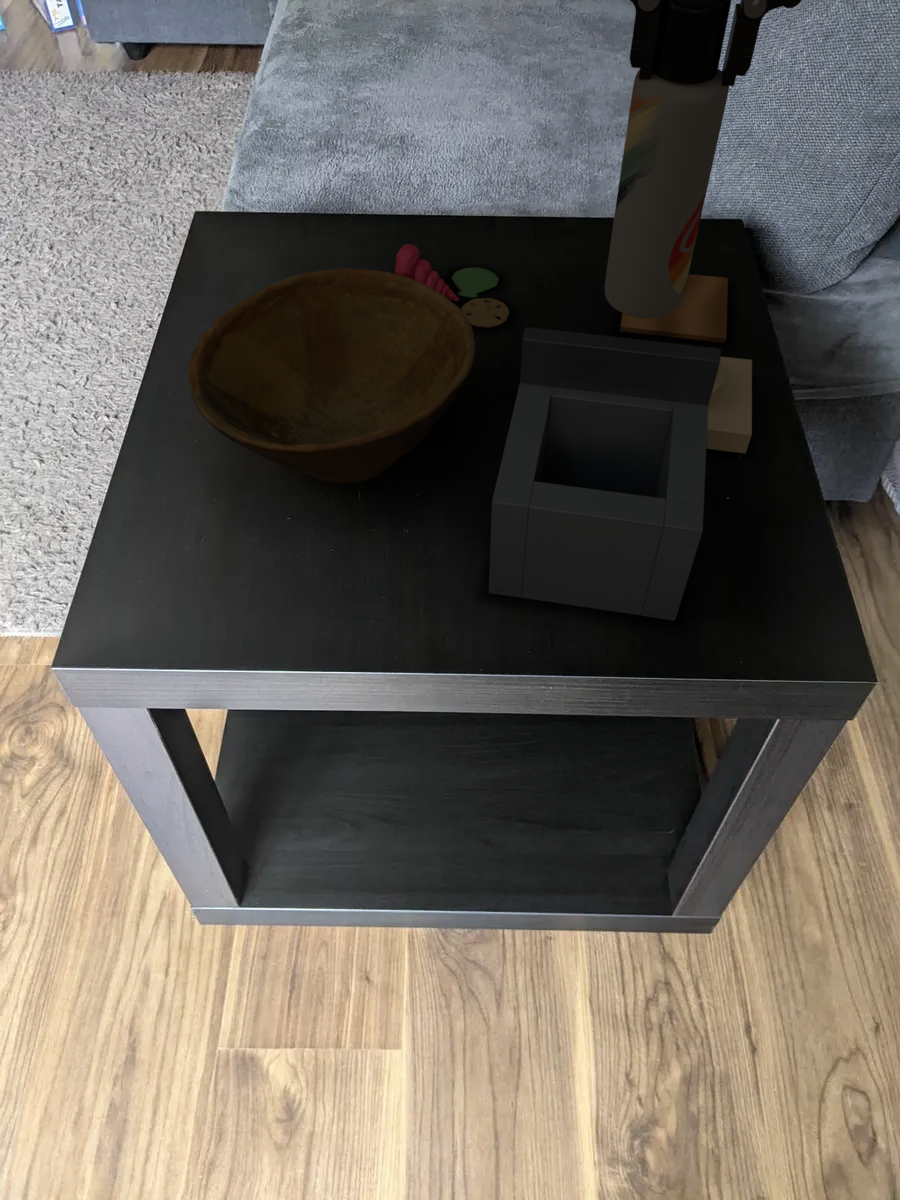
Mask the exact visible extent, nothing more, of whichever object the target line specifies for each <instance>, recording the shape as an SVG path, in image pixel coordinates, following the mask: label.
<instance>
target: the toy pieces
mask: <svg viewBox="0 0 900 1200" xmlns="http://www.w3.org/2000/svg"><path fill="white" fill-rule="evenodd" d="M395 258H396V263H395V264H396V265H395V269H394V274H398V275H401V276H404V277H407V278H410V279H412V280H414V281H417V282H419V283H422V284H425V285H426V286H428V287H430V288H432V289H434V290H435V291H437V292H438V293H440V294H442V295H444V296H445V297H447V298H448V299H449V300H450V301H451V302H453V301H454V302H456V303H457V302H460V297H463V298H468V299H471V300H469V301H468V302H466V303H464V304H463V305H462V307H461V310H462V312H463V313H464V314H465V316H466V317H467V319H468V320H469V322H470V324H471V326H473V327H476V328H485V329H489V328H490V329H491V328H496V327H498V326H501V325H502V324H504V323H505V322H506V321H507V320H508V317H509V315H510V309H509V307H508V306H507V305H506V303H504V302H502V301H500V300H498V299H494V298H490V297H484V298H483V297H482V298H481V297H479V294H481V293H485V292H487V291H489V290H492V289H494V288H496V287H497V286H498V283H499V280H500V278H499V277H498V276H497V275H496V273H495V272H493V271H490V270H489V269H486V268H483V267H472V266H471V267H463V268H462V269H459V270H456V271H455V272H454V273H453V275H452V276H451V277H450V278H451V281H452V282H453V284H454V285H455V286H456V287H457V289H458V290H460V291H458V292H456V293H457V294H456V293H455V292H454V291H453V290H452V289H451V288H450V286H449V284H446V282H445V280H444V279H443V278H440V275H439V273H438V271H437V270H432V268H433V267H432V265H431V262H430V261H428V260H426V259H424V258H421V250H420V249H419V248H418V246H417V245H414V244H410V243H406V244H403V245H402V246H401V248H400V249H399V250H398V252H397V253H396V255H395ZM458 296H459V297H458Z"/></svg>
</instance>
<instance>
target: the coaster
mask: <svg viewBox="0 0 900 1200" xmlns="http://www.w3.org/2000/svg"><path fill="white" fill-rule="evenodd" d="M728 295H729V277H723V276H713V275H702V274H693V273H688V277H687V281H686V286H685V290H684V294H683V297H682V300H681V302H680V304H679V306H678V307H677V308H676V309H675V310H674V311H672V312H671V313H669V314H667V315H664V316H661V317H655V318H639V317H633V316H629V315H626V314H624V313H622V312H621V313H622V314H621V319H620V320H621V321H620V327H619V332H622V333H631V334H638V335H639V334H640V335H648V336H649V335H650V336H659V337H665V338H676V339H685V340H695V341H704V342H711V343H722V344H725V343H726V341H727V335H728V334H727V333H728V330H727V329H728V299H729V298H728Z"/></svg>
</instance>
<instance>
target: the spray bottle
mask: <svg viewBox="0 0 900 1200" xmlns="http://www.w3.org/2000/svg"><path fill="white" fill-rule="evenodd" d="M731 5H732V0H662V4H661V15H660V21H659V27H658V34H657V40H656V46H655V53H654V59H653V65H652V71H651V78H650V79H639V71H640V69H638V71H637V73H635V77H634V79H633V86H632V91H631V98H630V99H631V100H630V104H629V112H628V119H627V124H626V125H627V127H626V132H625V138H624V139H625V140H624V147H623V153H622V160H621V166H620V167H621V169H620V175H619V182H618V189H617V196H616V202H615V210H614V215H613V223H612V229H611V237H610V244H609V252H608V259H607V266H606V272H605V282H604V296H605V298H606V301H607V302H608V304H609V305H610V306H611V307H612V308H613V309H615V310H616V311H618V312H619V313H624V314H626V315H629V316H633V317H639V318H655V317H661V316H664V315H667V314H669V313H671V312H672V311H674V310H675V309H676V308H677V307H678V306H679V304H680V302H681V300H682V297H683V294H684V290H685V286H686V281H687V277H688V274H690V273H689V272H690V268H691V263H692V260H693V254H694V250H695V246H696V241H697V237H698V232H699V226H700V222H701V220H702V214H703V211H704V210H703V209H704V204H705V200H706V195H707V191H708V187H709V182H710V177H711V173H712V169H713V164H714V161H715V155H716V151H717V145H718V143H719V137H720V132H721V128H722V123H723V119H724V115H725V111H726V110H725V109H726V106H727V101H728V95H729V91H730V86H724V85H722V69H719V66H720V61H721V57H722V56H721V55H722V51H723V46H724V40H725V37H726V31H727V25H728V20H729V14H730V10H731Z"/></svg>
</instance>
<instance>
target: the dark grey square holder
mask: <svg viewBox="0 0 900 1200" xmlns="http://www.w3.org/2000/svg"><path fill="white" fill-rule="evenodd" d="M521 343H522V344H521V345H522V346H521V356H520V357H521V358H520V359H521V360H520V374H519V384H518V390H517V394H516V399H515V402H514V407H513V411H512V415H511V420H510V423H509V428H508V432H507V435H506V441H505V444H504V450H503V453H502V457H501V462H500V466H499V470H498V475H497V479H496V483H495V488H494V492H493V495H492V499H491V519H490V542H489V543H490V547H489V569H488V571H489V573H488V575H489V576H488V594H493V595H499V596H507V597H513V598H519V599H520V598H522V599H528V600H535V601H541V602H548V603H553V604H554V603H555V604H561V605H568V606H574V607H581V608H589V609H594V610H599V611H600V610H602V611H608V612H614V613H621V614H628V615H635V616H641V617H648V618H653V619H661V620H667V621H673V622H674V621H676V620H677V617H678V613H679V610H680V606H681V603H682V599H683V596H684V593H685V590H686V587H687V584H688V581H689V577H690V574H691V571H692V567H693V565H694V560H695V557H696V555H697V551H698V548H699V545H700V541H701V538H702V534H703V531H704V515H705V514H704V513H705V511H704V510H705V491H706V489H705V488H706V468H707V467H706V466H707V465H706V464H707V449H706V448H707V425H708V404H709V401H710V398H711V394H712V390H713V387H714V383H715V379H716V376H717V372H718V368H719V364H720V356H721V351H722V350H721V348H719V347H718V348H717V347H710V346H709V347H708V346H699V345H691V344H681V343H672V342H662V341H654V340H646V339H635V338H628V337H619V336H609V335H603V334H602V335H601V334H593V333H583V332H575V331H574V332H573V331H565V330H558V329H557V330H556V329H548V328H537V327H528V326H526V327H525V328H524V331H523V336H522V342H521Z"/></svg>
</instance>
